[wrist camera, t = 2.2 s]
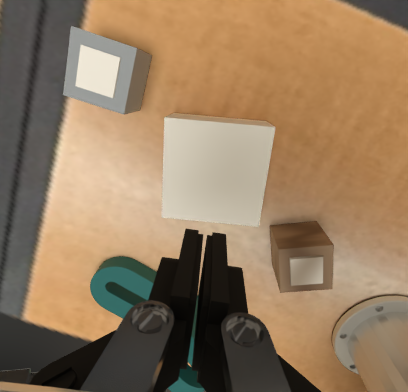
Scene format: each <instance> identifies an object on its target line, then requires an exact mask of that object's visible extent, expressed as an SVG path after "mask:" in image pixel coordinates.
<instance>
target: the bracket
mask: <svg viewBox="0 0 408 392" xmlns="http://www.w3.org/2000/svg"><path fill="white" fill-rule="evenodd" d="M156 274H157V272H156V271H154V270H152V269H151V268H149V267H147V266H145V265H144V264H142V263H140V262H138V261H137V260H135V259H132V258H129V257H123V256H119V257H113V258H110V259H108V260H106V261H105V262H103V263H102V265H101V266H100V267H99V269H98V270H97V272H96V273H95V275H94V276H93V278H92V280H91V284H90V289H91V293H92V296H93V298H94V299H95V301H96V302H97V303H98V304H99V305H100V306H102V307H103V308H105V309H106V310H108V311H110V312H112V313H114V314H116V315H118V316H119V317H121V318H123V319H124V317H125V315H126V314H127V312H128V311H129V310H130V309H131V307H133V306H134V305H136V304H137V303H140V302H143V301H148V298H149V295H150V292H151V289H152V286H153V283H154V280H155V277H156ZM197 305H198V295H197V302H196V309H195V316H194V322H193V329H192V336H191V343H190V349H189V356H188V362H189V364H190V365H191V367H190V366H189V365H188V364H187V369H186V370H185V369H180V373H179V380H178V381H176V382H175V383H174V384H172V385H171V386H170V387H168V389H169V390H170V391H171V392H203V391H204V390H205V389H204V388H203V387H202V386H201V385H200V383H197V372H198V371H192V360H193V349H194V338H195V327H196V316H197Z"/></svg>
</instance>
